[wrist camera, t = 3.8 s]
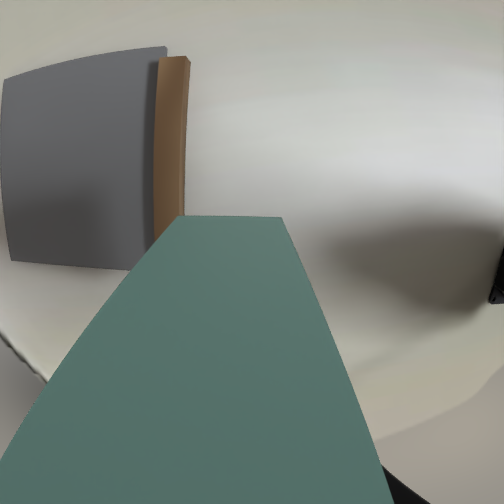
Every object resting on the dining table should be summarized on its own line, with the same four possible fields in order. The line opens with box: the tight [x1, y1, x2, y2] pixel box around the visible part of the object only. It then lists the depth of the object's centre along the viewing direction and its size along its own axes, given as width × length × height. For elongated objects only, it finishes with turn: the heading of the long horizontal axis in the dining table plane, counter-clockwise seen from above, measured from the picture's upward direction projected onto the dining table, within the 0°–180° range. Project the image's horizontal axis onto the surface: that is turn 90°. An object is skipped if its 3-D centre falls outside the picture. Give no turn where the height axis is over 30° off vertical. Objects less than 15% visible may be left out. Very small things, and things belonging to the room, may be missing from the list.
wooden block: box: [153, 56, 191, 241], centre depth 17 cm, size 2×12×2 cm, turn 177°
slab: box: [0, 216, 394, 504], centre depth 6 cm, size 3×8×9 cm, turn 178°
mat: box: [0, 46, 167, 270], centre depth 17 cm, size 13×14×1 cm
